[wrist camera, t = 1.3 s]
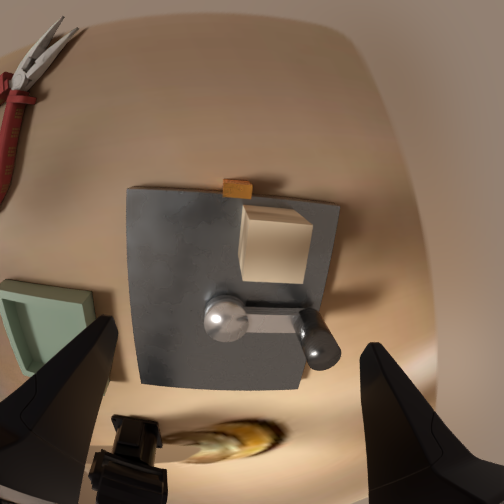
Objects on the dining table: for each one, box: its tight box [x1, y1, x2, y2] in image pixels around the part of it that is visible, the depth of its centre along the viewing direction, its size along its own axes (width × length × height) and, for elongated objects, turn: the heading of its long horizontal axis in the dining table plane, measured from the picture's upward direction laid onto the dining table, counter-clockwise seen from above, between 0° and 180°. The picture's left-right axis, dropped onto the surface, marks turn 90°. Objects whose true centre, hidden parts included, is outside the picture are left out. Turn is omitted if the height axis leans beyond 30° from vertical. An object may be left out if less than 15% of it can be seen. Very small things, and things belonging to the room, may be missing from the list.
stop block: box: [238, 205, 313, 284], centre depth 20 cm, size 4×4×5 cm
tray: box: [0, 279, 110, 396], centre depth 24 cm, size 12×12×2 cm
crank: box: [204, 295, 341, 371], centre depth 22 cm, size 10×4×6 cm, turn 84°
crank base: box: [126, 179, 340, 391], centre depth 25 cm, size 21×17×3 cm
